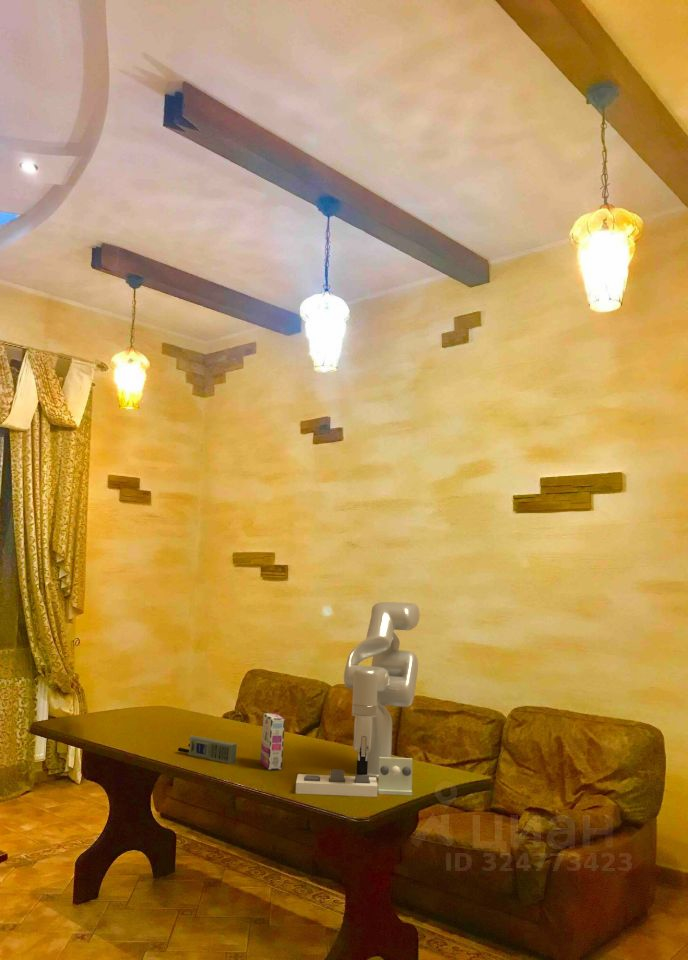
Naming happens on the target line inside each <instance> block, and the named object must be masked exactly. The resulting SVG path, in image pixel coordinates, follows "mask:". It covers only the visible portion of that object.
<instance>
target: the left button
mask: <svg viewBox="0 0 688 960" xmlns="http://www.w3.org/2000/svg"><path fill="white" fill-rule="evenodd" d="M316 775H317V774H309V775H306V777H305V781H319V776H316Z"/></svg>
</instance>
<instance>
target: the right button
mask: <svg viewBox="0 0 688 960" xmlns="http://www.w3.org/2000/svg"><path fill="white" fill-rule="evenodd" d="M354 776H355V783H369V772H367V775H358V774H357V771H355V773H354Z"/></svg>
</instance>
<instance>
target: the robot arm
mask: <svg viewBox="0 0 688 960" xmlns="http://www.w3.org/2000/svg"><path fill="white" fill-rule="evenodd" d="M420 616H421V615H420V608H419V606H418V605H417V604H416V603H410V602H394V601H393V602H392V601H391V602H390V601H383V602H378V603H374V605H373V606H372V609H371V615H370V620H369V625H368V629H367V632H366V638H364V639H363V640H362V641H360V643H358V644H357V645H356V646H355V647H353V649H352V650H351V651H350V653H349V655H348V657H347V661H346V665H345V667H344V668H345V669H344V673H343V683H344V685H345V687H346V688H348V689H349V690H352V704H351V705H352V706H351V716H352V717H354V726H353V750H354V752H356V751H357V759H356V772H357V774H358V775H367V772H369V777H376V780H378V778H379V757H391V758H392V743H393V739H392V738H393V735H392V734H393V719H392V718H393V717H392V716H391V713H390V711H389V710H388V708H387V707H401V708H406V707H407V708H408V707H410V706H411V705H412V704H413V702H414V699H415V693H416V685H417V680H418V679H417V678H418V669H419V662H418V657H417V655H416V653H415V652H413V651H411V650H401V649H400V646H401V642H400V638H399V637H398V636H397V634H396V633H395V630H396V631H411V630H413V629H414V628H415V627H417V625H418V623H419V621H420ZM369 658H372V659H371V665H359V664H360V663H361V662H363V661H365V660H367V659H369Z"/></svg>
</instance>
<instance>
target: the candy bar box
mask: <svg viewBox="0 0 688 960" xmlns="http://www.w3.org/2000/svg"><path fill="white" fill-rule="evenodd" d="M262 719H263V720H262V721H263V722H262V731H261V733H262V735H261V746H260V747H261V750H260V760H259V761H260V764H261V765H262V766H263V767H264V768H266V769H267V770H268V771H281V770H282V769H283V753H284V741H285V739H284V738H285V721H286V719H285V718H284V716H283V717H282V716H281V715H280V714H278V713H276V712H275V713H274V712H271V713H267V712H266V713H263V717H262Z"/></svg>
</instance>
